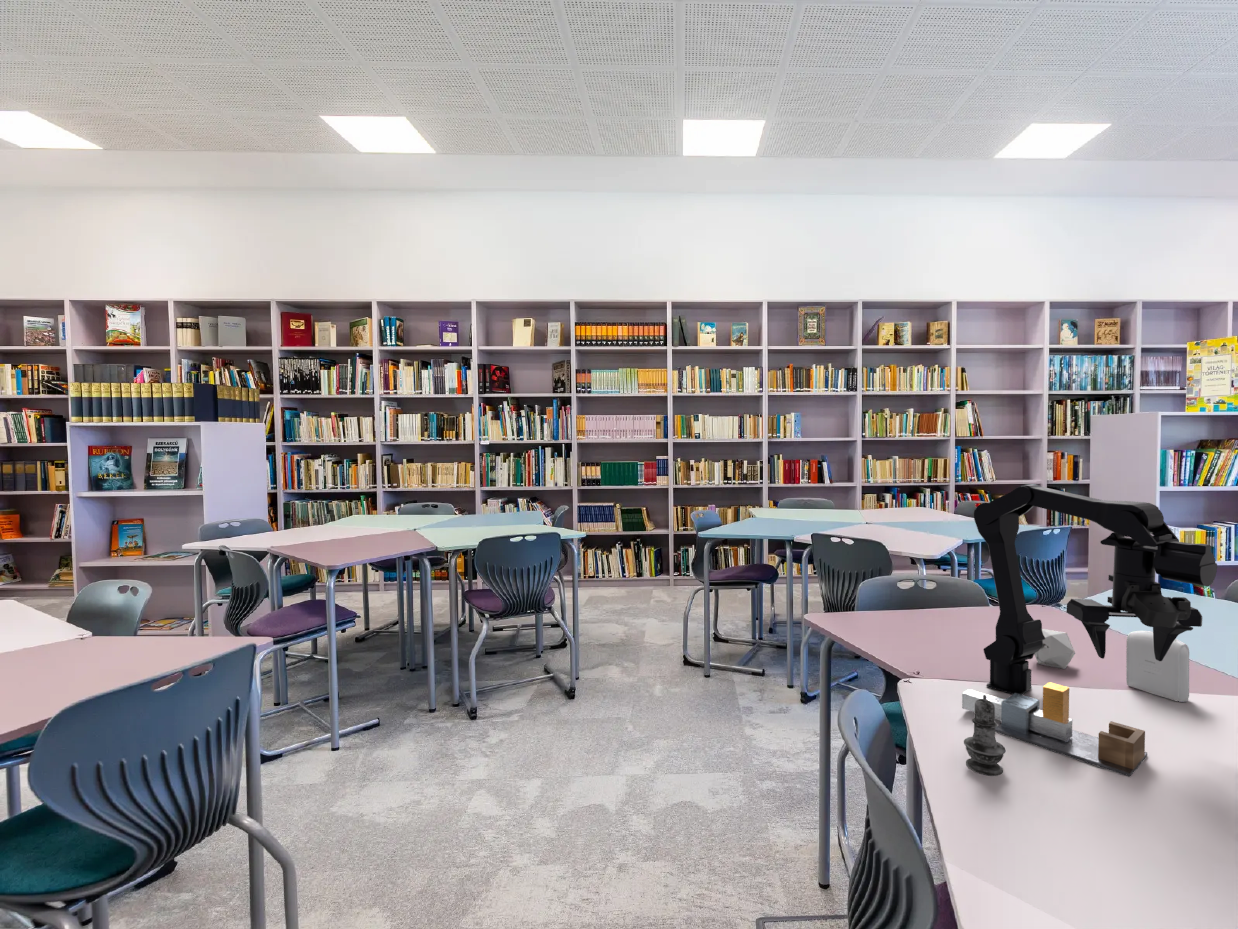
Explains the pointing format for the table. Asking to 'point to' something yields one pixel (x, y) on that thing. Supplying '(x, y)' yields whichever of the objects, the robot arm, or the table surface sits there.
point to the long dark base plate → (1074, 747)
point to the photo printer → (1157, 667)
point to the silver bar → (1036, 710)
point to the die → (1055, 649)
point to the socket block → (1122, 745)
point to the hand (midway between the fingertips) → (1129, 659)
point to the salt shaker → (984, 741)
